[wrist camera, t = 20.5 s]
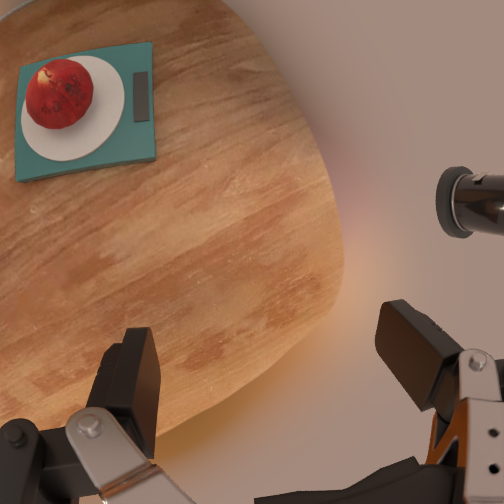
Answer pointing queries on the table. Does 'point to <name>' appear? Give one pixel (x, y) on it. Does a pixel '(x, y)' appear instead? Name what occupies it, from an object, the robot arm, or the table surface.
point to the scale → (92, 117)
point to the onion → (59, 94)
